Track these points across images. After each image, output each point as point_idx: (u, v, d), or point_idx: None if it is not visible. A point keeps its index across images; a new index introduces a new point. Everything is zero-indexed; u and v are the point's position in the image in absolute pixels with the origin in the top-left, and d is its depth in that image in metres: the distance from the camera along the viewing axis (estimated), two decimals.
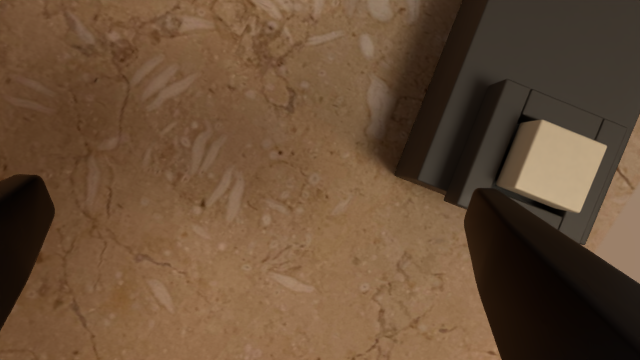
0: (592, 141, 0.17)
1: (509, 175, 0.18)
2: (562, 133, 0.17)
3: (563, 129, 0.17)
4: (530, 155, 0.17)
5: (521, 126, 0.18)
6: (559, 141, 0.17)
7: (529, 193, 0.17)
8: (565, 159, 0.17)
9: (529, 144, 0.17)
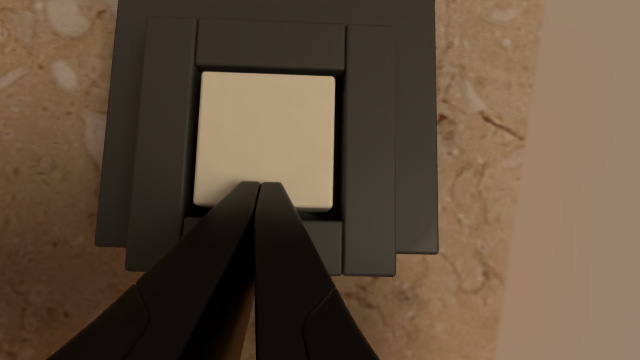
0: (305, 77, 0.09)
1: None
2: (245, 81, 0.09)
3: (245, 74, 0.09)
4: (202, 136, 0.09)
5: None
6: (246, 96, 0.09)
7: None
8: (268, 123, 0.09)
9: None
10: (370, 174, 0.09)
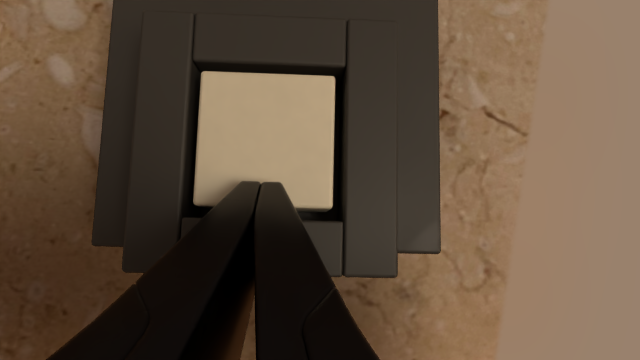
0: (305, 77, 0.09)
1: None
2: (245, 81, 0.09)
3: (245, 74, 0.09)
4: (201, 137, 0.09)
5: None
6: (245, 96, 0.09)
7: None
8: (268, 123, 0.09)
9: None
10: (371, 173, 0.09)
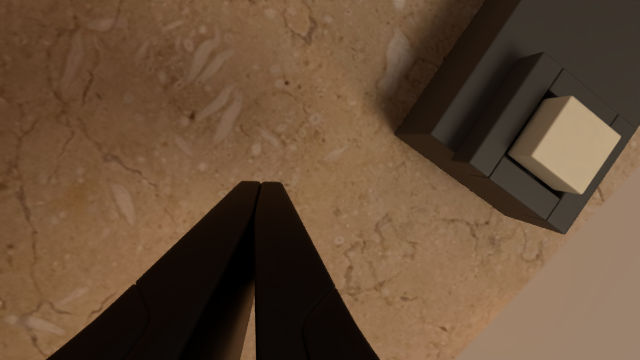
0: (609, 128, 0.17)
1: (526, 145, 0.18)
2: (586, 113, 0.17)
3: (588, 110, 0.17)
4: (553, 127, 0.17)
5: (545, 101, 0.18)
6: (582, 120, 0.17)
7: (543, 164, 0.17)
8: (582, 139, 0.17)
9: (553, 117, 0.17)
10: None
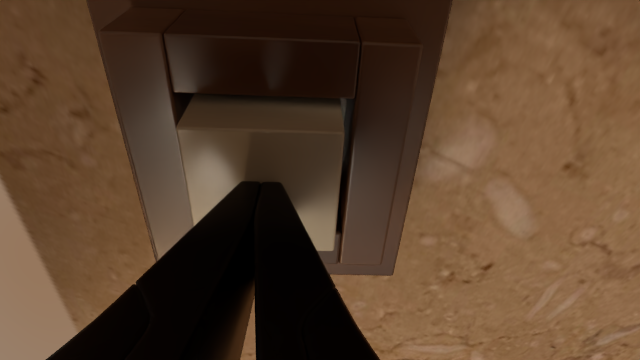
0: None
1: None
2: None
3: None
4: None
5: None
6: None
7: None
8: None
9: None
10: None
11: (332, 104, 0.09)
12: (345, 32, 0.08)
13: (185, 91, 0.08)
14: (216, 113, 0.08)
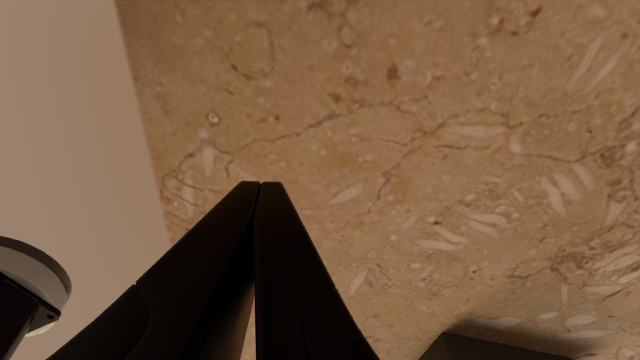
0: None
1: None
2: None
3: None
4: None
5: None
6: None
7: None
8: None
9: None
10: None
11: None
12: None
13: None
14: None
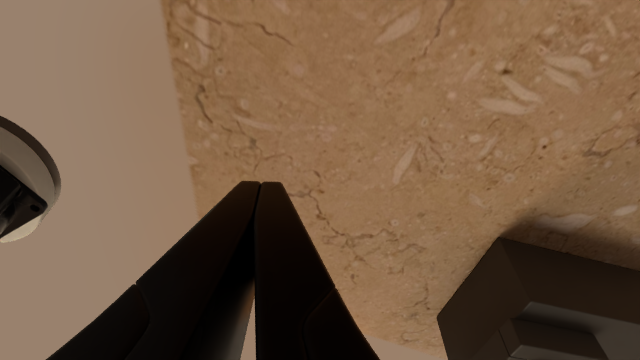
0: None
1: None
2: None
3: None
4: None
5: None
6: None
7: None
8: None
9: None
10: None
11: None
12: None
13: None
14: None
